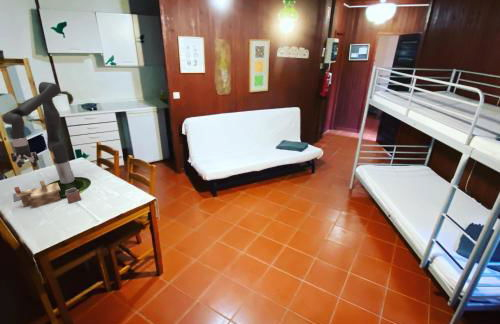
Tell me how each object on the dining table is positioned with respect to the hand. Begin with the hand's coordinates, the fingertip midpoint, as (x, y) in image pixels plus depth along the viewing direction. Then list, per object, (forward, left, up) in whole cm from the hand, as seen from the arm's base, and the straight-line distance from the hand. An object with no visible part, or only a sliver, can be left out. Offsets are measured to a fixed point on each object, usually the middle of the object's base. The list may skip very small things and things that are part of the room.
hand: (27, 167), depth 174 cm
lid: (-5, +8, -17) cm, 19 cm away
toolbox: (-1, +8, -24) cm, 25 cm away
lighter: (-18, +21, -24) cm, 37 cm away
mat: (+5, -9, -24) cm, 26 cm away
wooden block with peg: (+6, +8, -15) cm, 18 cm away
